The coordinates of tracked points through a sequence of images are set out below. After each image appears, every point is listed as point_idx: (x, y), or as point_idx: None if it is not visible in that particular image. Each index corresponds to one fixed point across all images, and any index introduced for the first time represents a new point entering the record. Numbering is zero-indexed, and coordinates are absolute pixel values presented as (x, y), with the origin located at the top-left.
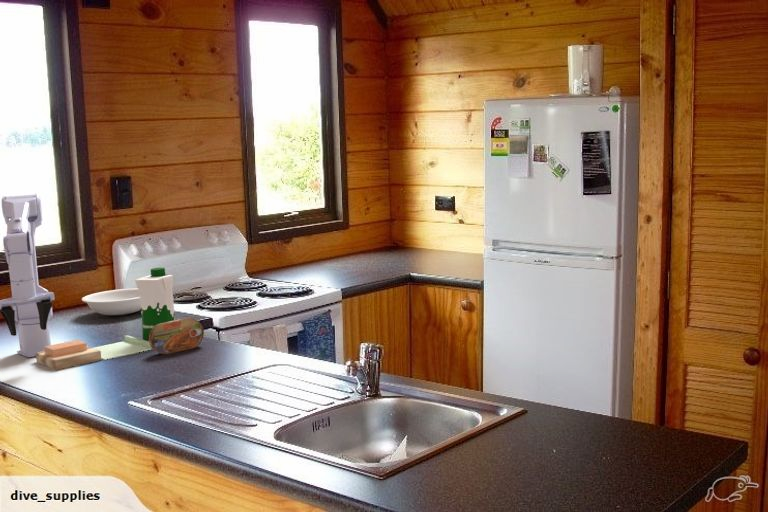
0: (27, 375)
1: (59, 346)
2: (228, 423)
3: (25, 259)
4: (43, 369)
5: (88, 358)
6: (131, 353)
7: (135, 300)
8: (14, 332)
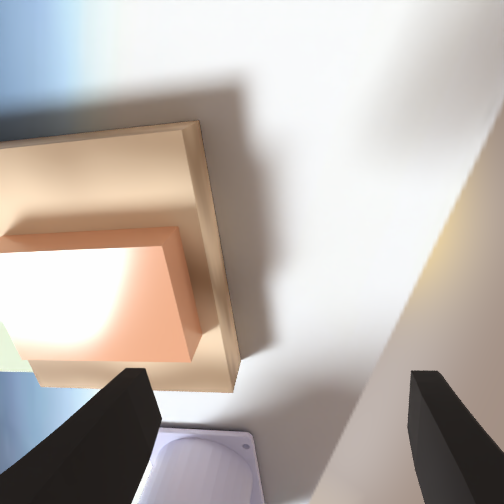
0: (360, 135)
1: (115, 297)
2: None
3: None
4: (252, 200)
5: (15, 143)
6: None
7: None
8: (442, 389)
